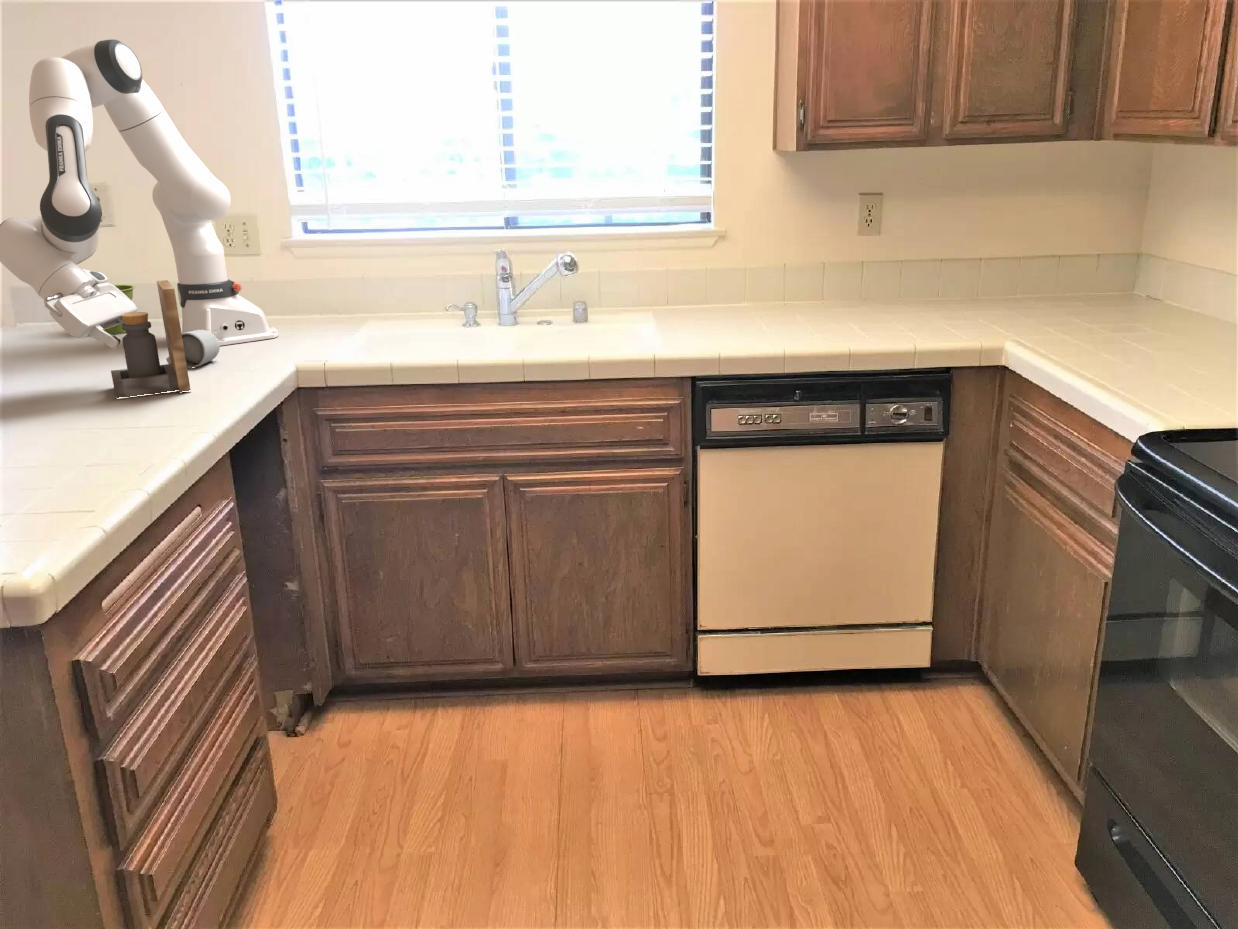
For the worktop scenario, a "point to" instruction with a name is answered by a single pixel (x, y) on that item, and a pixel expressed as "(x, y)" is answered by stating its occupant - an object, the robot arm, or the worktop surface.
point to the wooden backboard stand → (177, 369)
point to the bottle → (140, 346)
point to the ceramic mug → (199, 347)
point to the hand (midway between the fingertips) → (129, 340)
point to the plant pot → (129, 293)
